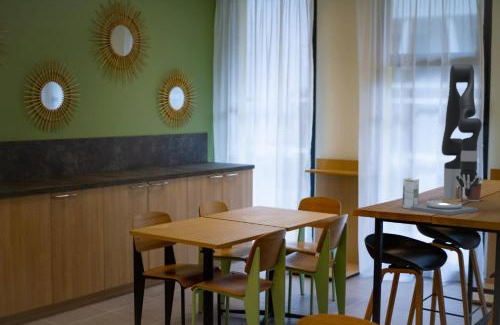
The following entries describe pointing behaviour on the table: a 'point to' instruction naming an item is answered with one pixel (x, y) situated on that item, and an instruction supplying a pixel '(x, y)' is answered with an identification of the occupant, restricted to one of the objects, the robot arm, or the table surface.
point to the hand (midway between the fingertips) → (468, 196)
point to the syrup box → (410, 192)
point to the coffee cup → (475, 192)
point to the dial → (447, 202)
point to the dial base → (444, 210)
